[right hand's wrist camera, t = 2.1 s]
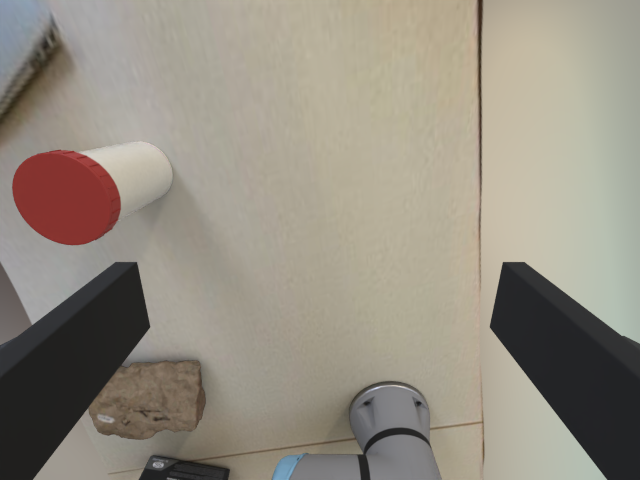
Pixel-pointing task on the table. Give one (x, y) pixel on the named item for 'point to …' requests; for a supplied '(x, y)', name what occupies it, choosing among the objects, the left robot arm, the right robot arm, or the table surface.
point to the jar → (135, 173)
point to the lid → (66, 197)
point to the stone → (150, 400)
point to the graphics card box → (181, 470)
